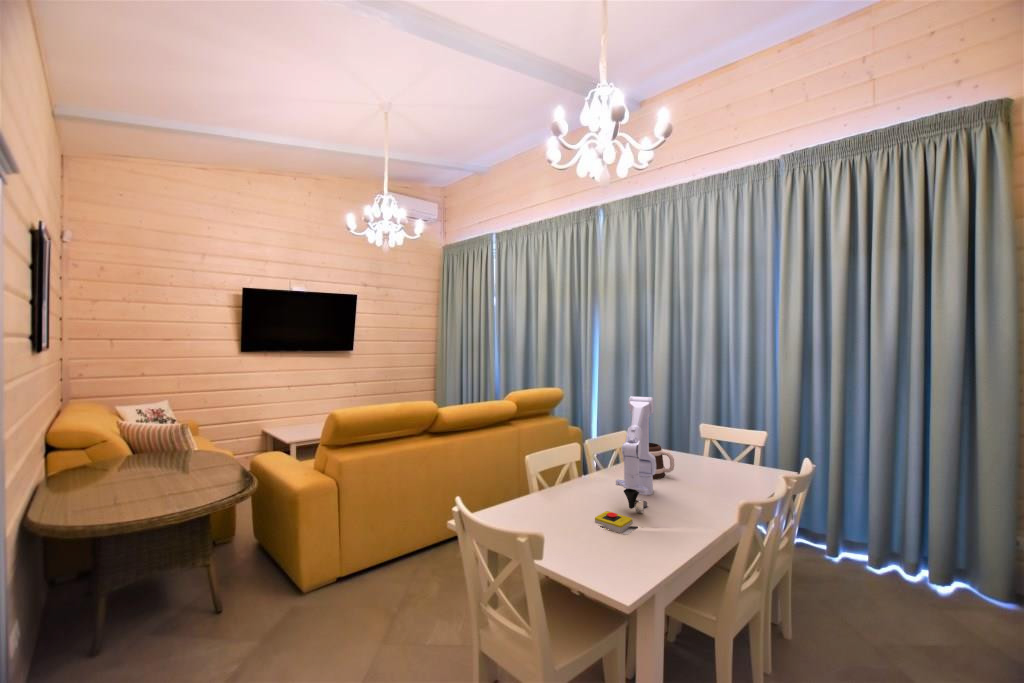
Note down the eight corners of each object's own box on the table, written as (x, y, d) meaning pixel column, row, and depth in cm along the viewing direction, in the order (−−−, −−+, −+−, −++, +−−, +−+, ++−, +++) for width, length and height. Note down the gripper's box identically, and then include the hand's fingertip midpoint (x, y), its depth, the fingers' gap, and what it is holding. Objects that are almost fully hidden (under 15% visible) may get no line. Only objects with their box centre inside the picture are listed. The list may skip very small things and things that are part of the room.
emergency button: (603, 506, 179) (639, 516, 169) (603, 517, 179) (639, 528, 169) (590, 513, 172) (626, 524, 162) (590, 525, 172) (626, 536, 162)
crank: (637, 503, 189) (637, 492, 188) (647, 505, 187) (647, 493, 187) (633, 513, 178) (633, 501, 178) (644, 515, 176) (644, 502, 176)
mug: (629, 476, 229) (628, 445, 229) (640, 468, 241) (640, 440, 241) (669, 483, 217) (669, 451, 217) (679, 475, 229) (679, 445, 229)
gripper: (610, 470, 183) (610, 504, 183) (640, 479, 171) (640, 516, 172) (622, 467, 187) (622, 500, 188) (652, 476, 176) (652, 511, 176)
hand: (632, 507), depth 180 cm, fingers closed
